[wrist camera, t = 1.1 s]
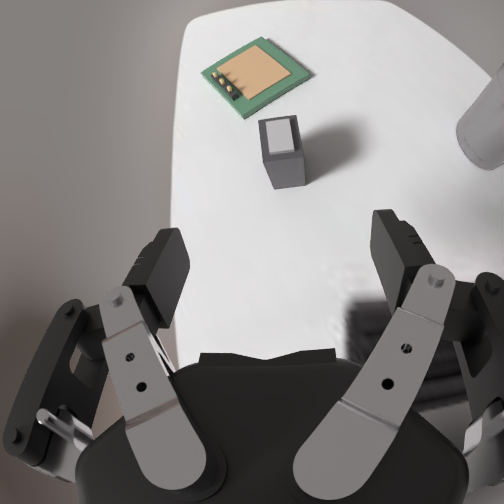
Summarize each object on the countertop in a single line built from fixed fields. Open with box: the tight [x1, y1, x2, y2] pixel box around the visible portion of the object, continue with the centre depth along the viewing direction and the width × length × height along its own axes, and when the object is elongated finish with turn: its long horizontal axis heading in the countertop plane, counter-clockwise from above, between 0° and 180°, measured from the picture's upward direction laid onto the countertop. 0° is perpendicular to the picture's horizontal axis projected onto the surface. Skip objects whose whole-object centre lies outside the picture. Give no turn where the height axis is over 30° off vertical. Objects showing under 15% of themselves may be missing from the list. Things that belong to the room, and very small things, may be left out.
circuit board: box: [201, 37, 310, 119], centre depth 37 cm, size 12×12×3 cm
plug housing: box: [258, 115, 305, 189], centre depth 32 cm, size 4×5×10 cm
